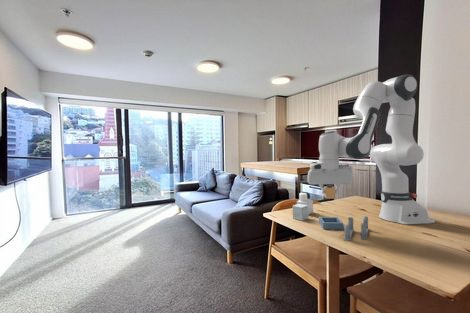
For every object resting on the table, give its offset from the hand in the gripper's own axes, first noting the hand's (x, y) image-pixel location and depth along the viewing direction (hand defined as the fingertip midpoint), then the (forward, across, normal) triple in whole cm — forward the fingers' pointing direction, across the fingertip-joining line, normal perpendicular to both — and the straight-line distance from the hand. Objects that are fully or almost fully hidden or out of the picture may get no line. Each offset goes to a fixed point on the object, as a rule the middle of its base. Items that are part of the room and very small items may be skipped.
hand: (329, 193), depth 106 cm
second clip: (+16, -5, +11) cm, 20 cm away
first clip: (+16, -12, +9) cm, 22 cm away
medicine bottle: (+16, +9, -22) cm, 29 cm away
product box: (+16, +13, -11) cm, 24 cm away
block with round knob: (+2, 0, 0) cm, 2 cm away
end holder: (+16, 0, 0) cm, 16 cm away
